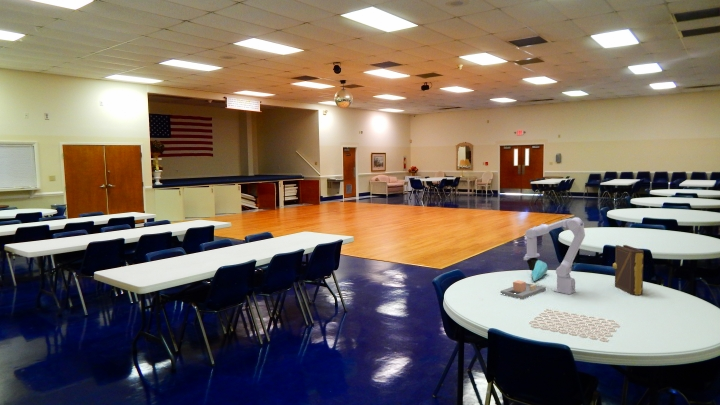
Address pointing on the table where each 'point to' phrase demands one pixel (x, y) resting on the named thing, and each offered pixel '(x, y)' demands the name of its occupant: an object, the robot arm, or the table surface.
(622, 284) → the book
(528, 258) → the robot arm
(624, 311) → the table surface
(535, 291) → the plate
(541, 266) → the crystal
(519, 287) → the block
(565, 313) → the honeycomb grid
